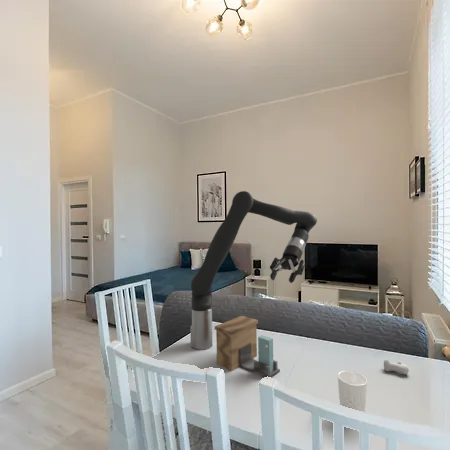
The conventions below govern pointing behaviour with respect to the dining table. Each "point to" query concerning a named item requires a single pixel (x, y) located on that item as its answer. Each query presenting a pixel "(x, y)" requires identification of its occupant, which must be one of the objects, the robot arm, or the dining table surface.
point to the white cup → (352, 390)
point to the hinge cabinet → (240, 346)
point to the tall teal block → (265, 351)
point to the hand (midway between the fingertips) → (280, 280)
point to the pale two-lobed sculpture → (395, 367)
